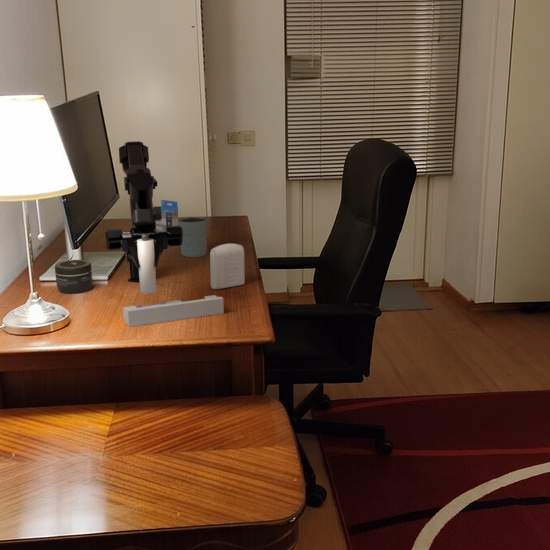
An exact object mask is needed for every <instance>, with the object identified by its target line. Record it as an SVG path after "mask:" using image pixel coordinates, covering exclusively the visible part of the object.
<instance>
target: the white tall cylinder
mask: <svg viewBox="0 0 550 550" xmlns="http://www.w3.org/2000/svg"><path fill="white" fill-rule="evenodd" d="M137 248H138V261H139V280H140V282H139V292H140V293H141V294H146V295H148V294H154V293H156V292H157V277H156V276H157V273H156V271H157V270H156V267H155V253H154V239H151V238H149V236H148V234H147V233H144V234H142V239H138V240H137Z"/></svg>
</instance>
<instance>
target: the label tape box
mask: <svg viewBox="0 0 550 550" xmlns="http://www.w3.org/2000/svg"><path fill="white" fill-rule="evenodd" d="M160 201H161V202H160V204H161V215H162V219H161V220H158V221H155V222H156V229H155V232H156V231H157V232H166V226H178V219H179V206H178V201H175V200H166V199H165V200H164V199H161V200H160Z"/></svg>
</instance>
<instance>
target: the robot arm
mask: <svg viewBox="0 0 550 550" xmlns="http://www.w3.org/2000/svg"><path fill="white" fill-rule="evenodd" d="M149 154H150V153H149V147H148V145H145V144H144V142H143V141H136V140H135V141H127V142H124V144H123V145H122V146H120V147H118V157H119V158H118V160H119V164H121V166H122V168H121V170H122V171H123V173H124V174H125V175H126V176H124V177H123V184H124V191H125V192H126V191H127V195H129V207H130V221H131V227H130V230H129V231H126V232H124V231H122V228H112V229H108V228H107V229H106V231H105V244H106V249H107V250H108V251H113V250H114V251H115V250H116V251H117V250H119V251H120V250H121V251H122V252H126V253H125V255H126V262H128V263H129V264H128V265H129V276H130V277H129V278H127V281H128V282H135V283H136V282H137V283H140V280H139V261H138V248H137V240H138V239H142V234H144V233H147V234H148V236H149V238H151V239H154V253H155V268H158V266H159V262H160V259H161V255H163V252H164V250H168V248H169V247H181V245H182V239H183V231H182V227H180V226H166V232H156V221H158V220H161V219H162V215H161V206H162V205H161V206H154V204H153V197H154V190H156V187H158V181H157V180H156V178H155V176H154V175H152V172H151V169H150V168H148V167H147V166H148V165H147V163H149V161H150V155H149ZM156 278H157V275H156Z"/></svg>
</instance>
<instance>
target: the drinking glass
mask: <svg viewBox="0 0 550 550" xmlns="http://www.w3.org/2000/svg"><path fill="white" fill-rule="evenodd" d="M208 223H209V219H208V217H202V216H186V217H181V218H178V226H180V227H182V231H183V239H182V245H180V250H181V251H180V252H181V255H182V257H183V256H184V257H188V258H197V257H204V256H206V255H207V253H208V244H207V243H208V226H209V225H208Z"/></svg>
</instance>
